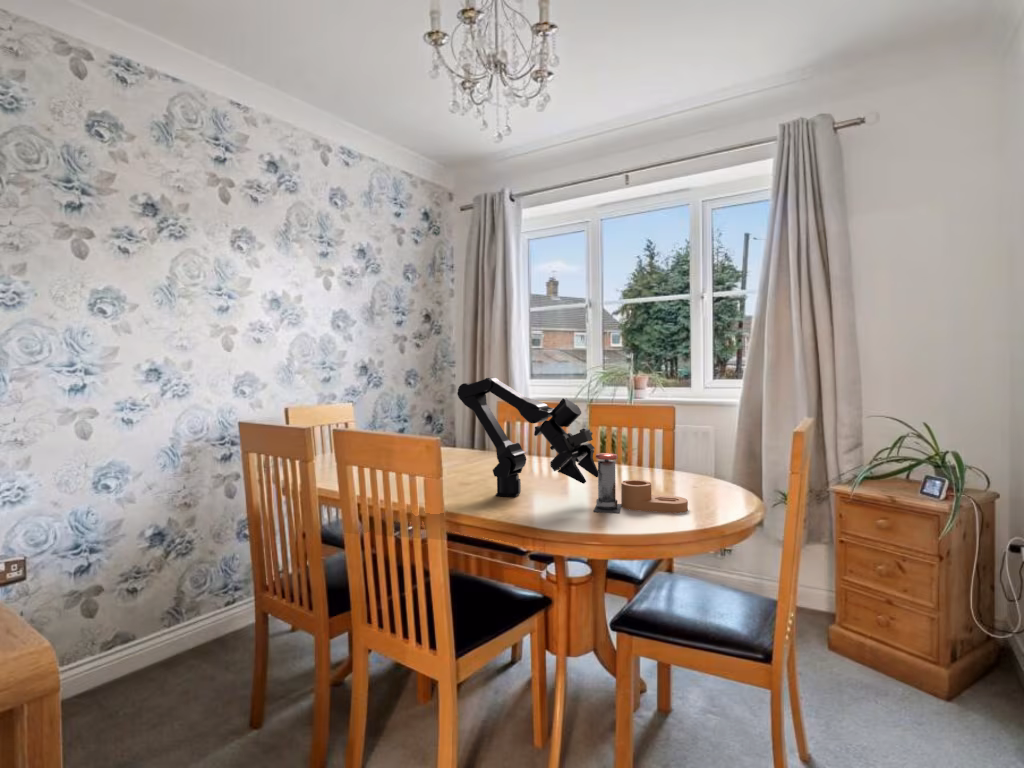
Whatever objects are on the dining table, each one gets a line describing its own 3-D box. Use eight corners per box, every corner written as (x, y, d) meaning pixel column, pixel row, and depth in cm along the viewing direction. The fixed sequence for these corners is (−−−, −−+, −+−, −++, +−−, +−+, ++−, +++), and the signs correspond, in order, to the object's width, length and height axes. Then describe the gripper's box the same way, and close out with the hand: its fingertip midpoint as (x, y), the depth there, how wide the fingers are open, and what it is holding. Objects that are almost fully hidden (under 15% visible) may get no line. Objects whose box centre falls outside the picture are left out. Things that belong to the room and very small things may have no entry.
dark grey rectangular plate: (593, 511, 154) (593, 511, 154) (596, 503, 163) (596, 502, 163) (619, 513, 153) (619, 512, 153) (621, 504, 161) (621, 504, 161)
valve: (598, 510, 155) (598, 457, 154) (593, 505, 161) (593, 453, 160) (620, 509, 155) (620, 456, 154) (614, 504, 161) (614, 452, 160)
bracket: (619, 509, 157) (619, 485, 156) (623, 502, 165) (623, 479, 164) (687, 514, 151) (687, 489, 151) (687, 506, 159) (687, 482, 159)
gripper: (560, 423, 154) (597, 467, 149) (588, 416, 170) (623, 456, 165) (535, 448, 158) (570, 493, 153) (565, 440, 174) (597, 479, 169)
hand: (591, 479), depth 160 cm, fingers open, 9 cm apart
